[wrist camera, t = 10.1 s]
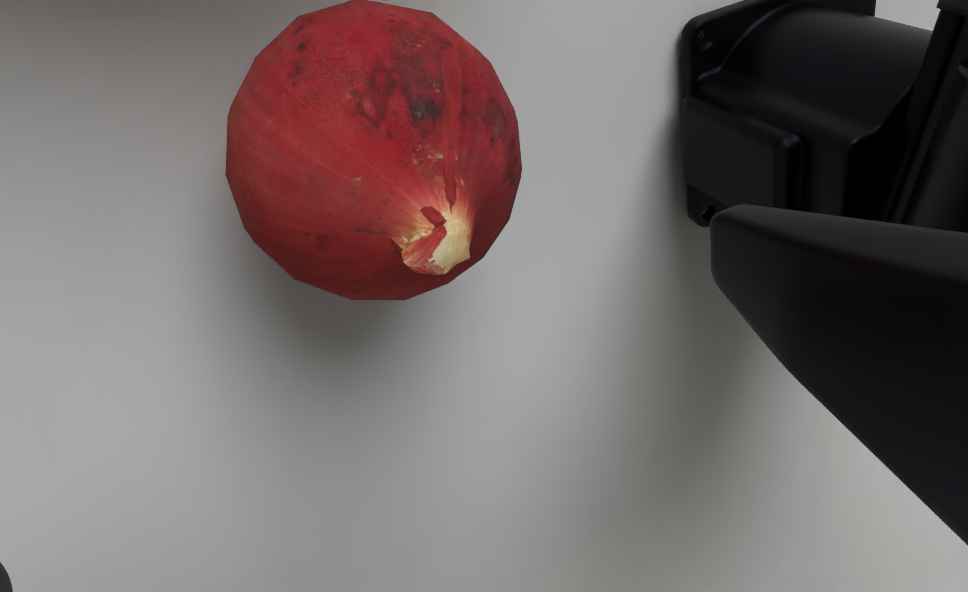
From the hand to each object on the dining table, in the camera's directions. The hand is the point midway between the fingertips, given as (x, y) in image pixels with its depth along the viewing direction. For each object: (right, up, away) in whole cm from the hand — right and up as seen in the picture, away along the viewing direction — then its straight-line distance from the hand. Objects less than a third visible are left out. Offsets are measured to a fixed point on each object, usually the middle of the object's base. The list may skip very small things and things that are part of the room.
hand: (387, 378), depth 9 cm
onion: (-3, +6, +10) cm, 12 cm away
